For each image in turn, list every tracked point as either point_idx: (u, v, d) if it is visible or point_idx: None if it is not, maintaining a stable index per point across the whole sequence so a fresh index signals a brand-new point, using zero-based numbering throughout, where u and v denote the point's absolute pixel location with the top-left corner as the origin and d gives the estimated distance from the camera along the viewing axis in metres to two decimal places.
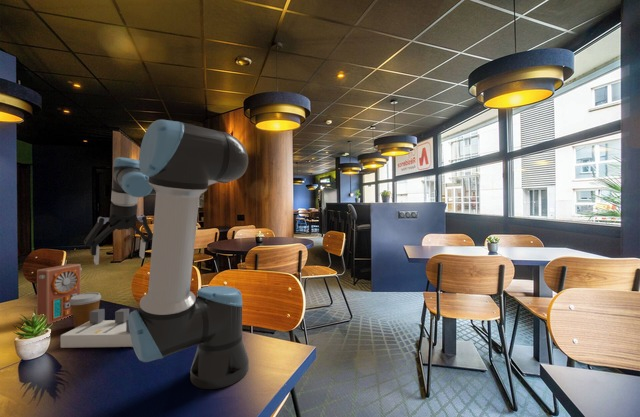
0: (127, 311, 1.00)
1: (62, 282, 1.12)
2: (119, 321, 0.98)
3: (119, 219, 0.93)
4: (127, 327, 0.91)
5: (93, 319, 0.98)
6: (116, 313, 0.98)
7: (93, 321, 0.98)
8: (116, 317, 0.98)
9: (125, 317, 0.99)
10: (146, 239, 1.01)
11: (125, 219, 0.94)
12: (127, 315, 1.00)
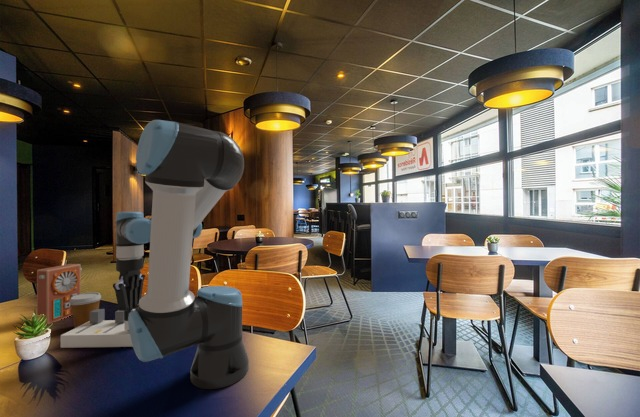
0: None
1: (62, 282, 1.12)
2: (119, 321, 0.98)
3: (129, 276, 0.89)
4: None
5: (93, 319, 0.98)
6: (116, 313, 0.98)
7: (93, 321, 0.98)
8: (116, 317, 0.98)
9: None
10: (136, 304, 0.92)
11: None
12: None
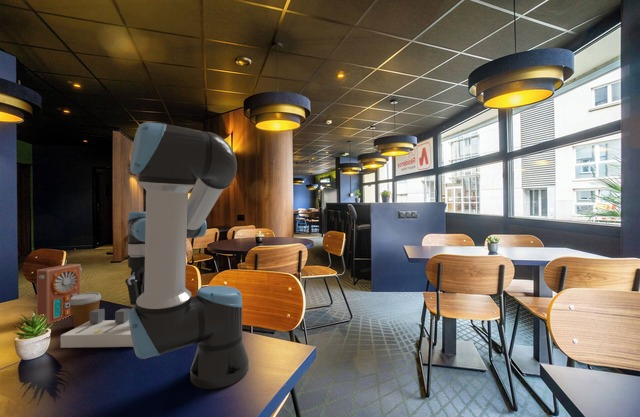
0: (127, 311, 1.00)
1: (62, 282, 1.12)
2: (119, 321, 0.98)
3: (140, 272, 0.94)
4: None
5: (93, 319, 0.98)
6: (116, 313, 0.98)
7: (93, 321, 0.98)
8: (116, 317, 0.98)
9: (125, 317, 0.99)
10: None
11: None
12: (127, 315, 1.00)
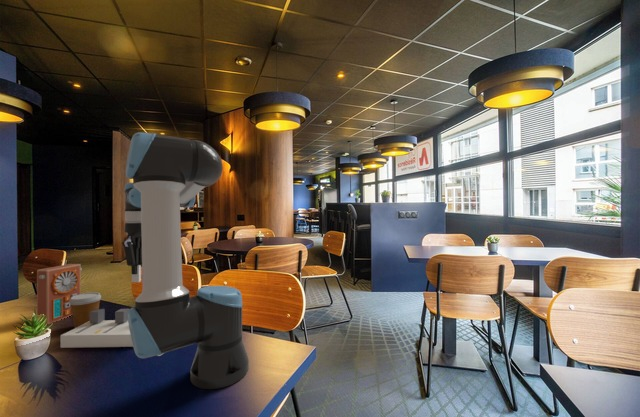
0: (127, 311, 1.00)
1: (62, 282, 1.12)
2: (119, 321, 0.98)
3: (136, 237, 1.06)
4: None
5: (93, 319, 0.98)
6: (116, 313, 0.98)
7: (93, 321, 0.98)
8: (116, 317, 0.98)
9: (125, 317, 0.99)
10: (141, 261, 1.09)
11: (141, 231, 1.09)
12: (127, 315, 1.00)
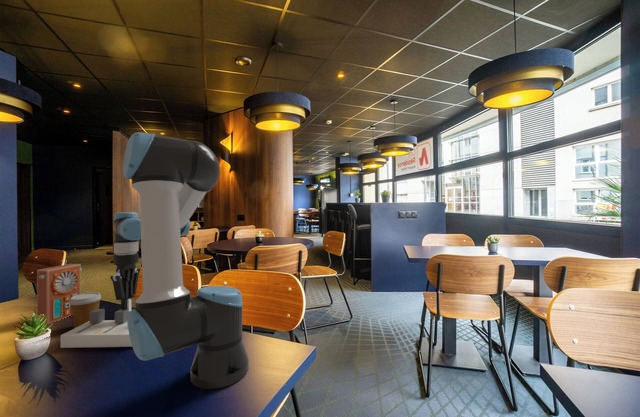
0: (127, 311, 1.00)
1: (62, 282, 1.12)
2: (119, 321, 0.98)
3: (125, 270, 1.00)
4: None
5: (93, 319, 0.98)
6: (116, 313, 0.98)
7: (93, 321, 0.98)
8: (116, 317, 0.98)
9: (124, 317, 0.99)
10: (132, 295, 1.03)
11: None
12: None
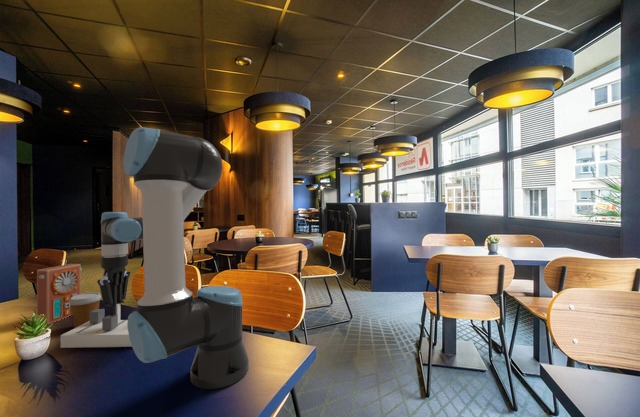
0: (115, 317, 0.94)
1: (62, 282, 1.12)
2: (106, 328, 0.92)
3: (114, 273, 0.94)
4: None
5: (93, 319, 0.98)
6: (103, 320, 0.92)
7: (93, 321, 0.98)
8: (103, 324, 0.92)
9: (112, 324, 0.93)
10: (121, 299, 0.97)
11: None
12: (115, 322, 0.94)
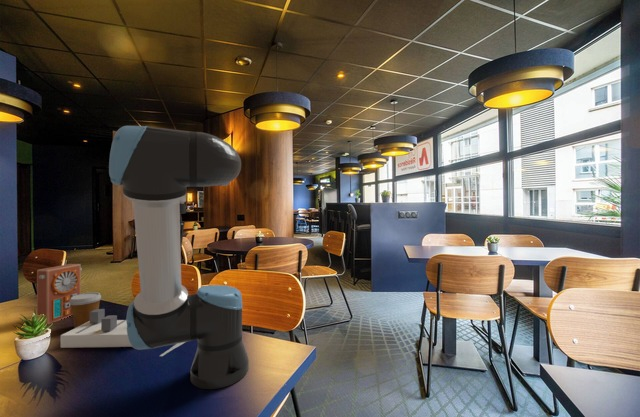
0: (114, 318, 0.94)
1: (62, 282, 1.12)
2: (105, 329, 0.92)
3: None
4: None
5: (93, 319, 0.98)
6: (102, 320, 0.92)
7: (93, 321, 0.98)
8: (102, 325, 0.92)
9: (111, 325, 0.92)
10: None
11: None
12: (114, 322, 0.94)
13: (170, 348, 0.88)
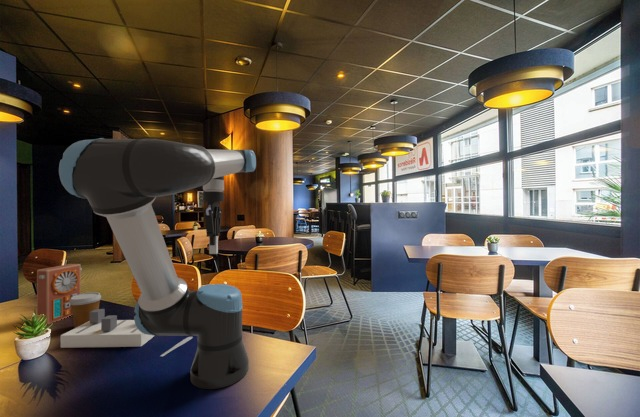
0: (114, 318, 0.94)
1: (62, 282, 1.12)
2: (105, 329, 0.92)
3: (214, 206, 1.01)
4: None
5: (93, 319, 0.98)
6: (102, 320, 0.92)
7: (93, 321, 0.98)
8: (102, 325, 0.92)
9: (111, 325, 0.92)
10: (218, 233, 1.05)
11: (217, 201, 1.05)
12: (114, 322, 0.94)
13: (171, 348, 0.88)
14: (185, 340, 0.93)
